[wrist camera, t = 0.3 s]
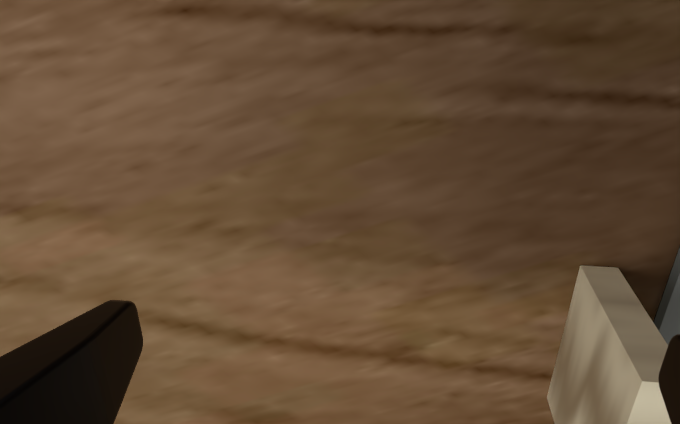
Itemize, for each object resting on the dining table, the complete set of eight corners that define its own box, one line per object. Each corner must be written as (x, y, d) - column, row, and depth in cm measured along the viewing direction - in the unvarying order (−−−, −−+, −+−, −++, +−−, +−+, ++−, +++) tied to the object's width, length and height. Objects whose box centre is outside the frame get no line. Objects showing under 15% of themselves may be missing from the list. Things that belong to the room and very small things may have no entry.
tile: (582, 400, 27) (634, 536, 21) (546, 397, 27) (588, 532, 21) (621, 267, 24) (699, 385, 17) (580, 264, 24) (642, 381, 18)
